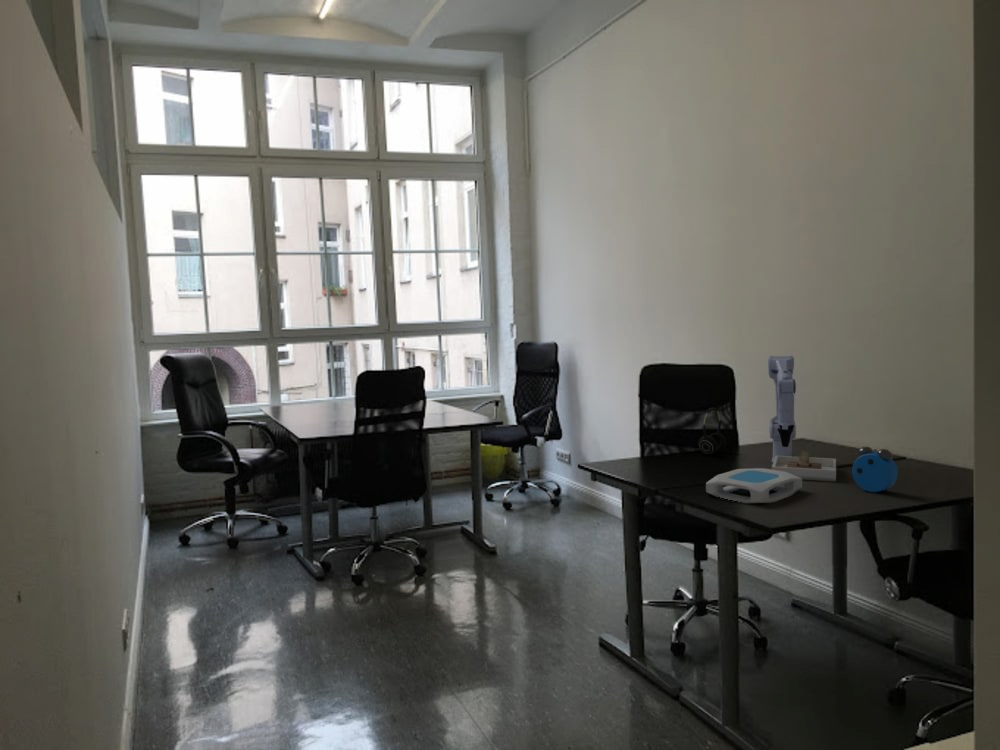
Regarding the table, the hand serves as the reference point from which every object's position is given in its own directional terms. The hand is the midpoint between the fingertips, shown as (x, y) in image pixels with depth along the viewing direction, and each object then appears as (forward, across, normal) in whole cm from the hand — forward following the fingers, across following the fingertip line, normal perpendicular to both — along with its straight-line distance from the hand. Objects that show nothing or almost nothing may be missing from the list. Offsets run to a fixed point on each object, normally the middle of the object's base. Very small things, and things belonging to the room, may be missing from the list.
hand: (785, 444), depth 305 cm
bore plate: (+9, +6, +7) cm, 13 cm away
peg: (+8, +6, +7) cm, 12 cm away
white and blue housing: (+10, +43, -8) cm, 45 cm away
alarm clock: (+10, +28, +30) cm, 42 cm away
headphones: (+10, -23, -31) cm, 40 cm away
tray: (+9, +6, +7) cm, 13 cm away
